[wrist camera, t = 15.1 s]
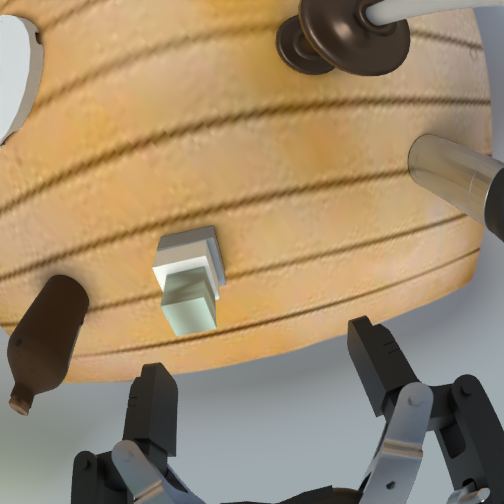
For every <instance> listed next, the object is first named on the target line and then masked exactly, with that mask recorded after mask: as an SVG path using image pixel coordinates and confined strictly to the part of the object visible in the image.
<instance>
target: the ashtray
mask: <svg viewBox="0 0 504 504" xmlns="http://www.w3.org/2000/svg"><path fill="white" fill-rule="evenodd" d="M35 33H39V31H38V29H37V27H36V25H34V24H33V23H32V22H30V21H29V20H28V19H25V18H21V17H17V16H11V15H2V16H0V148H1V147H3V146H4V145H5V144H4V145H2V143H3V141H4V140H5V139H6V138H7V137H8V136H9V135H10V134H11V133H12V132H14V131H18V130H20V128H21V127H22V126H23V124H24V122H25V120H26V118H27V116H28V115H29V113H30V111H31V109H32V106H33V103H34V101H35V98H36V95H37V93H38V90H39V85H40V80H41V76H42V72H43V57H44V50H43V45H42V44H38V43H37V41H36V37H35Z"/></svg>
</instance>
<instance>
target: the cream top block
mask: <svg viewBox="0 0 504 504" xmlns="http://www.w3.org/2000/svg"><path fill="white" fill-rule="evenodd" d="M202 266H204V267H205V269H206V272H207V275H208V278H209V281H210V284H211V287H212V289H213V292H214V295H215V300H217V299H220V295H219V281H218V277H217V274H216V271H215V268H214V264H213V261H212V258H211V255H210V251H209V248H208V245H207V241H206V240H204V241H199V242H195V243H191V244H187V245H182V246H178V247H174V248H170V249H166V250H161V251H157V254H156V257H155V261H154V264H153V267H152V268H153V270H154V273H155V275H156V277H157V279H158V282H159V284H160V286H161V288H162V291H164V286H165V281H166V276H167V275H168V274H172V273H176V272H181V271H185V270H189V269H194V268H198V267H202Z"/></svg>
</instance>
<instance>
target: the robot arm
mask: <svg viewBox="0 0 504 504" xmlns="http://www.w3.org/2000/svg"><path fill="white" fill-rule="evenodd" d="M408 167H409V172H410V175H411V177H412V179H413V180H414V181H415V182H416V183H417V184H419V185H420V186H422V187H424V188H426V189H427V190H429V191H431V192H432V193H434V194H436V195H437V196H439V197H440V198H442V199H444V200H445V201H447V202H449V203H450V204H452V205H453V206H455V207H456V208H458V209H459V210H461V211H462V212H464V213H465V214H467V215H468V216H470V217H471V218H473V219H474V220H476V221H477V222H479V223H480V224H481V225H483V226H484V227H486V228H487V229H488V230H490V231H491V232H492V233H494V234H495V235H496V236H497V237H498V238H499V239H500V240H502V241H503V242H504V163H503V162H501V161H499V160H496V159H494V158H492V157H489V156H487V155H485V154H482V153H480V152H477V151H475V150H472V149H470V148H467V147H465V146H462V145H459V144H457V143H454V142H451V141H448V140H445V139H442V138H439V137H436V136H433V135H424V136H421V137H420V138H418V139H417V140H416V141H415V143H414V144H413V146H412V148H411V150H410V154H409V159H408ZM347 345H348V350H349V354H350V356H351V359H352V361H353V363H354V366H355V368H356V370H357V372H358V375H359V377H360V379H361V382H362V384H363V386H364V389H365V391H366V394H367V396H368V398H369V401H370V403H371V405H372V408H373V411H374V413H375V415H376V417H378V416H381V415H384V417H385V420H386V423H385V426H384V429H383V432H382V435H381V438H380V440H379V443H378V446H377V448H376V451H375V453H374V456H373V458H372V460H371V463H370V465H369V466H368V468H367V471H366V473H365V475H364V477H363V479H362V481H361V483H360V485H359V488H358V490H354V489H348V488H332V485H331V486H327V487H323V488H319V489H315V490H311V491H307V492H303V493H301V494H299V495H297V496H294V497H292V498H290V499H287V500H285V501H282V502H280V503H276V504H406V501H407V499H408V497H409V494H410V492H411V489H412V487H413V484H414V481H415V479H416V476H417V473H418V470H419V467H420V464H421V461H422V457H423V451H422V445H423V441H424V437H425V434H426V432H427V431H432V430H434V432H435V434H436V437H437V439H438V442H439V445H440V447H441V451H442V453H443V456H444V459H445V462H446V465H447V468H448V471H449V474H450V477H451V480H452V484H453V487H454V492H453V493H452V494H451V495H450V497H449V498H448V501H447V503H446V504H504V431H503V428H502V426H501V424H500V421H499V419H498V417H497V415H496V413H495V411H494V409H493V406H492V405H491V402H490V400H489V398H488V397H487V394H486V393H485V391H484V389H483V387H482V385H481V383H480V381H479V380H478V379H477V378H476V377H475V376H472V375H469V374H466V375H462V376H460V377H458V378H457V379H456V380H455V382H454V383H453V384H447V385H441V386H428V385H426V384H423V383H422V382H420V381H419V380H418V379H417V377H416V375H415V374H414V372H413V370H412V368H411V367H410V365H409V363H408V361H407V359H406V358H405V356H404V354H403V352H402V351H401V350H400V347H399V346H398V344H397V342H396V341H395V339H394V337H393V336H392V334H391V332H390V331H389V330H388V329H387V328H385V327H384V326H382V325H381V324H377V325H375V326H373V325H372V324H371V322H370V320H369V318H368V317H367V316H362V317H359V318H356V319H352V320H349V321H348V339H347ZM177 403H178V388H177V384H176V382H175V380H174V379H173V378H172V376H171V375H170V374H169V372H168V371H167V370H166V368H165V367H164V366H163V364H162V363H152V364H145V365H143V367H142V372H141V377H136V378H135V380H134V382H133V384H132V386H131V388H130V393H129V400H128V408H127V412H126V419H125V427H124V434H123V438H122V441H120V442H118V443H117V444H116V445H115V446H114V448H113V450H112V451H109V452H105V453H102V454H98V455H95V454H93V453H91V452H89V451H82V452H80V453H78V454H77V456H76V457H75V459H74V465H73V476H72V491H71V504H206V503H205V502H204V501H203V500H202V499H200V498H199V497H198V496H196V495H195V494H194V493H193V492H191V490H190V489H189V488H188V487H187V486H186V485H185V484H184V483H183V481H182V480H181V479H180V478H179V477H178V475H177V474H176V473H175V472H174V470H173V469H172V468H171V467H170V466H169V464H168V463H167V457H176V430H177ZM133 497H135V500H134V498H133ZM221 504H271V503H258V502H248V501H246V502H234V503H221Z"/></svg>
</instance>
